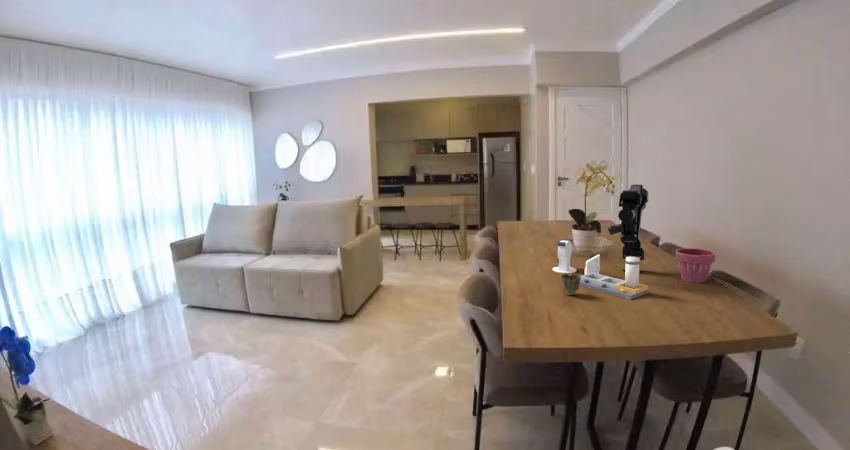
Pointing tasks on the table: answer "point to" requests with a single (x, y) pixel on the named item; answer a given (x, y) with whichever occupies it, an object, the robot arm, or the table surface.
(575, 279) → the cup
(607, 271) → the table surface
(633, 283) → the white bottle
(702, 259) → the plant pot
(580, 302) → the table surface
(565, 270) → the white charging stand
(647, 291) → the board
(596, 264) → the white wedge bracket
